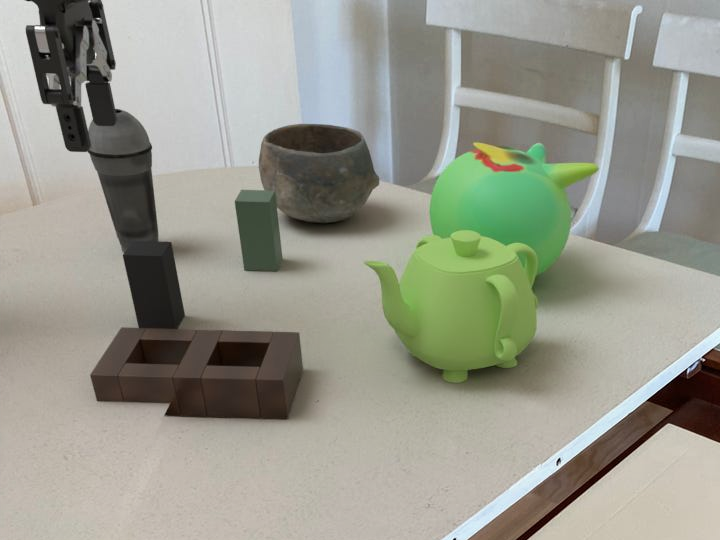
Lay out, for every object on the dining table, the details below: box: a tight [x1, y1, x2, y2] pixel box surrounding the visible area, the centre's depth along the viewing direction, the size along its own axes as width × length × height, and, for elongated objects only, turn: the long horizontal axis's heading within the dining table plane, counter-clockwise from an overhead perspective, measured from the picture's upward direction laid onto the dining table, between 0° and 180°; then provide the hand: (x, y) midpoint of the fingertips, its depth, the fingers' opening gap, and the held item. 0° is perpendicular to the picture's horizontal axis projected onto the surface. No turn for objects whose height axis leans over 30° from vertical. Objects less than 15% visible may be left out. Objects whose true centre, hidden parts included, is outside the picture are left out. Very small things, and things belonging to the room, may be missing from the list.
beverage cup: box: [87, 108, 160, 254], centre depth 114 cm, size 7×7×20 cm
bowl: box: [258, 123, 380, 224], centre depth 127 cm, size 14×15×10 cm
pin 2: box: [234, 189, 283, 272], centre depth 115 cm, size 4×4×8 cm
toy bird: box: [429, 141, 600, 277], centre depth 113 cm, size 18×17×15 cm
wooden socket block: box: [89, 326, 304, 420], centre depth 93 cm, size 18×10×4 cm, turn 89°
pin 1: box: [122, 241, 186, 329], centre depth 103 cm, size 4×4×8 cm
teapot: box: [362, 230, 539, 384], centre depth 96 cm, size 16×14×13 cm
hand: (93, 137), depth 94 cm, fingers open, 8 cm apart
